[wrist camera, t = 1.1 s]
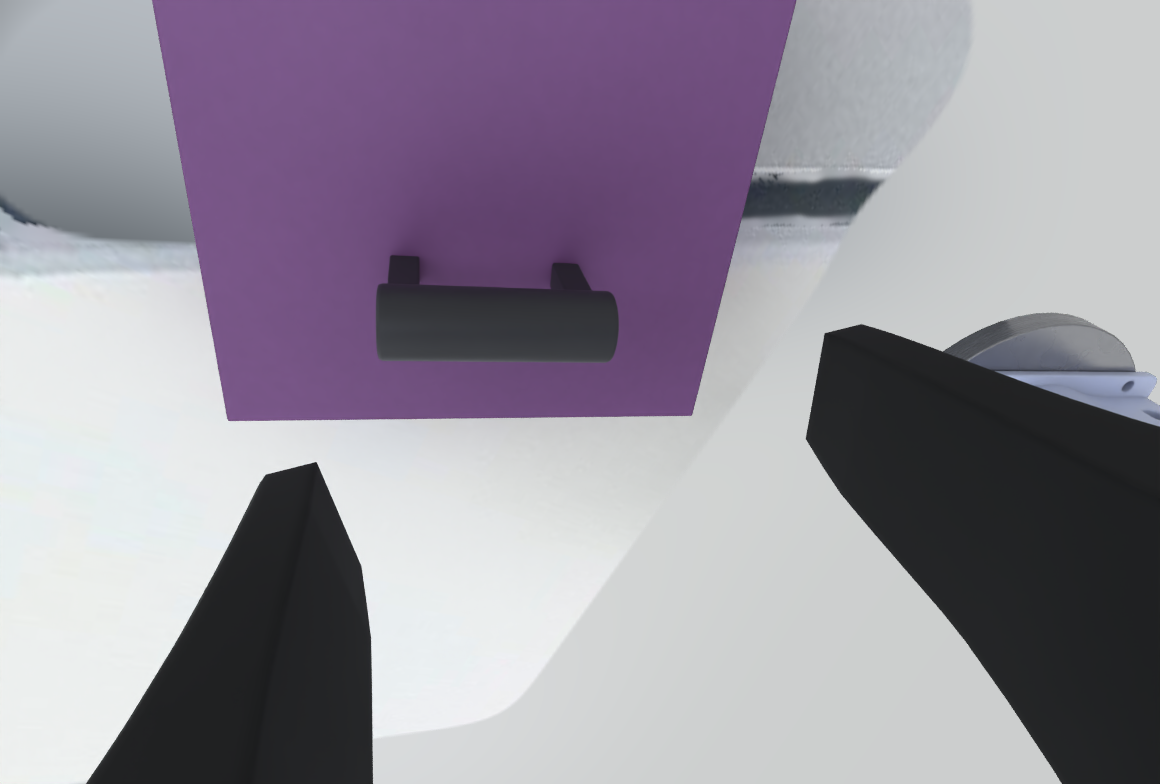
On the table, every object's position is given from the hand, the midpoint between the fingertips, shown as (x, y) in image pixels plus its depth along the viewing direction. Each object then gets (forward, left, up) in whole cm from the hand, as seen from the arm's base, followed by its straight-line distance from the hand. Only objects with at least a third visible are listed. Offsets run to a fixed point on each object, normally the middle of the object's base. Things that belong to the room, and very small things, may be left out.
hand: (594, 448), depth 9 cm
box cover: (+1, -1, -9) cm, 9 cm away
